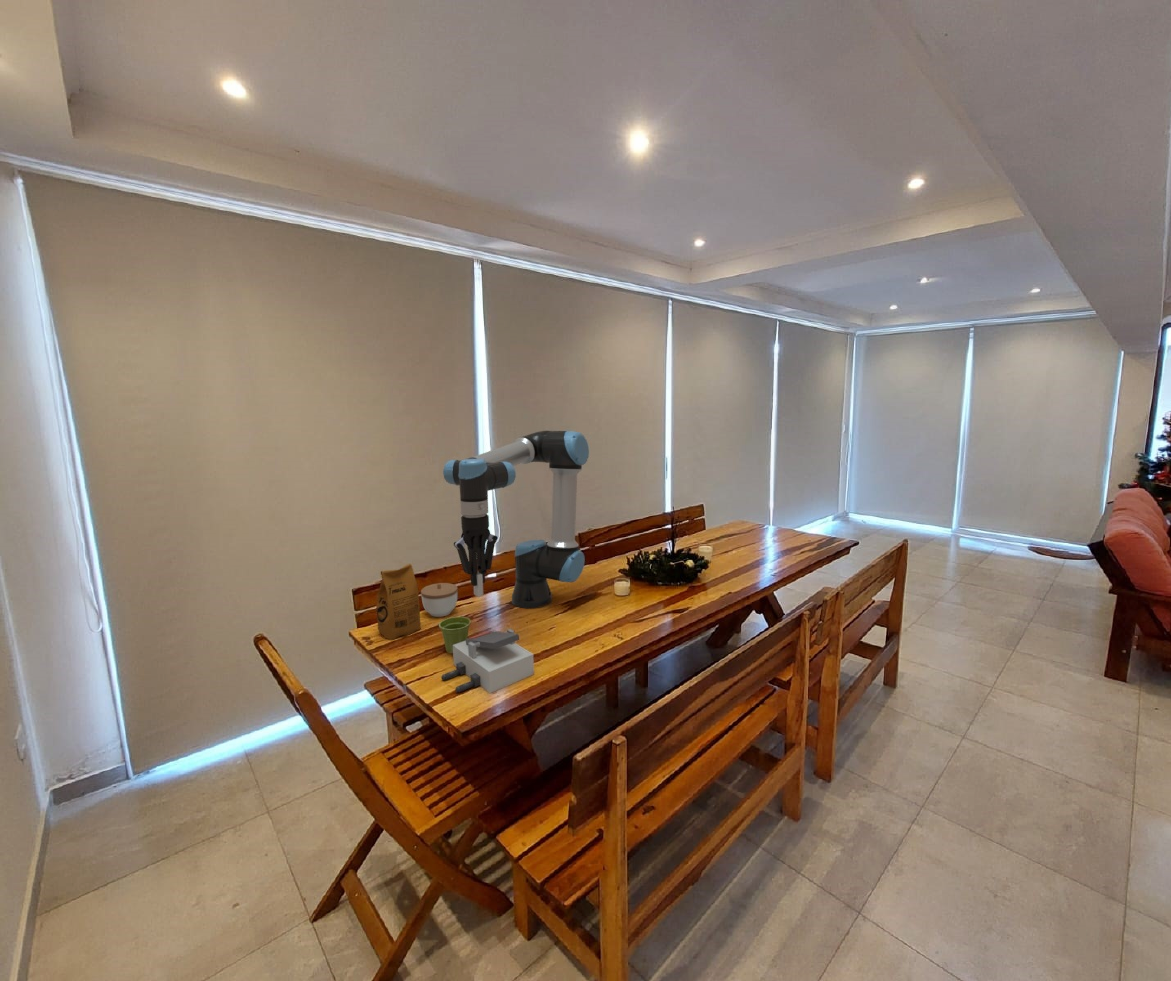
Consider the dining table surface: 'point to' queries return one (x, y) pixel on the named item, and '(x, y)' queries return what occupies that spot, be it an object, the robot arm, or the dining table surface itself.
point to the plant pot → (454, 631)
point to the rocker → (493, 639)
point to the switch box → (490, 665)
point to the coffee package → (398, 603)
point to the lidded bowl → (439, 598)
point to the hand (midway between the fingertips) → (478, 595)
